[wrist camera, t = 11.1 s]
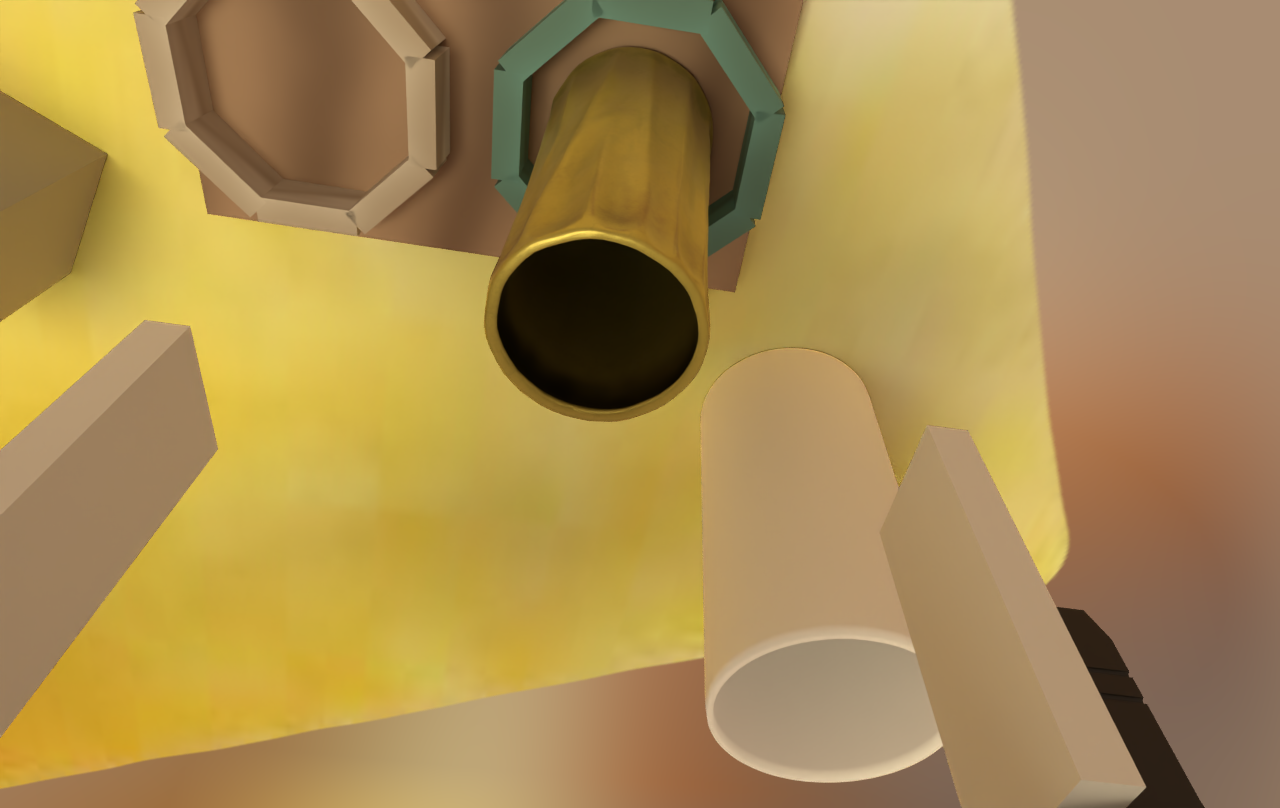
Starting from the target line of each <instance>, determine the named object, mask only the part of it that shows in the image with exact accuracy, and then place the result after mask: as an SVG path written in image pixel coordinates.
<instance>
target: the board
mask: <svg viewBox="0 0 1280 808" xmlns="http://www.w3.org/2000/svg"><path fill="white" fill-rule="evenodd" d="M135 4H136V5H137V6H138V7H139V8H140V9H141V10H140V11H137V12H133V14H134V18H135V23H136V27H137V32H138V36H139V41H140V45H141V50H142V54H143V59H144V63H145V68H146V72H147V77H148V82H149V86H150V91H151V95H152V100H153V104H154V109H155V113H156V118H157V122H158V127H159V128H163V129H169V130H170V131H169V132H168V133H167V134H166V135H165V136H164V137H165V138H166V139H167V140H168V141H169V142H170V143H171V144H172V145H173V146H175V147H176V148H177V149H178V150H179V151H180V152H181V153H182V154H183V155H184V156H185V157H186V158H187V159H188V160H189V161H191V162H192V163H193V164H194V165H195V166H196V167H197V168H198V169H199V172H200V177H201V183H202V188H203V193H204V198H205V203H206V208H207V213H208V214H213V215H219V216H226V217H233V218H240V219H246V220H253V221H258V222H265V223H272V224H279V225H285V226H292V227H299V228H306V229H312V230H319V231H326V232H332V233H339V234H346V235H353V236H360V237H367V238H374V239H381V240H387V241H394V242H401V243H408V244H414V245H421V246H428V247H434V248H441V249H448V250H455V251H461V252H468V253H475V254H481V255H488V256H495V257H500V255H501V252H502V250H503V247H504V245H505V242H506V240H507V237H508V235H509V233H510V230H511V228H512V225H513V222H514V220H515V217H516V215H517V213H518V210H519V208H520V205H521V203H522V200H523V197H524V194H525V192H526V189H527V186H528V183H529V180H530V177H531V174H532V171H533V168H534V165H535V161H536V158H537V155H538V152H539V149H540V146H541V142H542V139H543V136H544V133H545V130H546V127H547V124H548V120H549V118H550V112H551V107H552V102H553V98H554V97H555V95H556V94H557V92H558V90H559V89H560V87H561V86H562V84H563V83H564V82H565V80H566V79H567V77H568V76H569V74H570V73H571V72H572V71H573V70H574V69H575V68H576V67H577V66H578V65H579V64H580V63H582V62H583V61H584V60H586V59H588V58H590V57H592V56H594V55H596V54H598V53H601V52H603V51H606V50H609V49H613V48H618V47H638V48H644V49H649V50H653V51H656V52H659V53H661V54H663V55H665V56H667V57H668V58H670V59H672V60H673V61H675V62H676V63H678V64H679V65H681V66H682V67H683V68H685V69H686V70H687V71H688V72H689V73H690V74H691V75H692V76H693V77H694V78H695V80H696V81H697V83H698V84H699V86H700V88H701V89H702V91H703V93H704V95H705V97H706V99H707V101H708V104H709V107H710V111H711V115H712V121H713V143H712V149H711V154H710V183H709V205H708V288H710V289H717V290H723V291H730V292H735V290H736V286H737V281H738V277H739V273H740V269H741V264H742V260H743V256H744V251H745V247H746V243H747V239H748V234H749V230H751V229H752V228H754V227H755V221H754V219H761V215H762V211H763V206H764V202H765V198H766V194H767V190H768V186H769V182H770V177H771V173H772V169H773V165H774V161H775V157H776V152H777V148H778V144H779V140H780V136H781V132H782V128H783V123H784V119H785V113H784V110H783V107H784V105H783V102H782V99H781V93H782V89H783V85H784V81H785V76H786V72H787V68H788V64H789V59H790V55H791V51H792V46H793V42H794V38H795V34H796V29H797V25H798V21H799V17H800V12H801V8H802V4H803V0H137V1H136V3H135Z"/></svg>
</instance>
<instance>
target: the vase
mask: <svg viewBox="0 0 1280 808" xmlns="http://www.w3.org/2000/svg"><path fill="white" fill-rule="evenodd" d="M712 143H713V121H712V115H711V111H710V107H709V104H708V101H707V99H706V97H705V95H704V93H703V91H702V89H701V88H700V86H699V84H698V83H697V81H696V80H695V78H694V77H693V76H692V75H691V74H690V73H689V72H688V71H687V70H686V69H685V68H683V67H682V66H681V65H679V64H678V63H676V62H675V61H673V60H672V59H670V58H668V57H667V56H665V55H663V54H661V53H659V52H656V51H653V50H649V49H644V48H638V47H618V48H613V49H609V50H606V51H603V52H601V53H598V54H596V55H594V56H592V57H590V58H588V59H586V60H584V61H583V62H582V63H580V64H579V65H578V66H577V67H576V68H575V69H574V70H573V71H572V72H571V73H570V74H569V76H568V77H567V79H566V80H565V82H564V83H563V84H562V86H561V87H560V89H559V90H558V92H557V94H556V95H555V97H554V98H553V102H552V107H551V112H550V118H549V120H548V124H547V127H546V130H545V133H544V136H543V139H542V142H541V146H540V149H539V152H538V155H537V158H536V161H535V165H534V168H533V171H532V174H531V177H530V180H529V183H528V186H527V189H526V192H525V194H524V197H523V200H522V203H521V205H520V208H519V210H518V213H517V215H516V217H515V220H514V222H513V225H512V228H511V230H510V233H509V235H508V237H507V240H506V242H505V245H504V247H503V250H502V252H501V255H500V257H499V260H498V262H497V264H496V266H495V268H494V271H493V273H492V275H491V278H490V282H489V286H488V293H487V300H486V307H485V317H484V328H485V334H486V339H487V341H488V344H489V346H490V349H491V351H492V353H493V355H494V357H495V359H496V361H497V363H498V365H499V366H500V368H501V369H502V371H503V373H504V374H505V375H506V376H507V377H508V379H509V380H510V381H511V382H512V383H513V384H514V385H515V386H516V387H517V388H518V389H519V390H520V391H521V392H522V393H524V394H525V395H527V396H528V397H530V398H531V399H532V400H534V401H535V402H537V403H538V404H540V405H542V406H544V407H546V408H548V409H550V410H552V411H554V412H557V413H560V414H562V415H565V416H569V417H573V418H577V419H582V420H587V421H604V422H613V421H622V420H627V419H631V418H634V417H638V416H640V415H643V414H646V413H649V412H651V411H653V410H656V409H658V408H659V407H661V406H663V405H665V404H666V403H668V402H669V401H671V400H672V399H674V398H675V397H676V396H677V395H678V394H679V393H680V392H682V391H683V390H684V389H685V388H686V387H687V386H688V385H689V384H690V382H691V381H692V380H693V379H694V378H695V376H696V375H697V373H698V372H699V370H700V368H701V365H702V363H703V361H704V358H705V355H706V352H707V348H708V344H709V339H710V316H709V299H708V205H709V183H710V154H711V149H712Z"/></svg>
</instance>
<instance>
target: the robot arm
mask: <svg viewBox="0 0 1280 808" xmlns="http://www.w3.org/2000/svg"><path fill="white" fill-rule="evenodd" d="M217 450H218V447H217V442H216V438H215V433H214V429H213V425H212V420H211V416H210V412H209V407H208V403H207V398H206V394H205V390H204V385H203V381H202V376H201V372H200V368H199V363H198V359H197V354H196V350H195V346H194V341H193V337H192V332H191V328H190V326H185V325H177V324H170V323H162V322H155V321H147V320H144V321H143V322H142V323H141V324H140V325H139V326H138V327H137V328H136V329H134V330H133V331H132V332H131V333H130V334H129V335H128V336H127V337H126V338H124V339H123V340H122V341H121V342H120V343H119V344H118V345H117V346H116V347H114V348H113V349H112V350H111V351H110V352H109V353H108V354H107V355H106V356H104V357H103V358H102V359H101V360H100V361H99V362H98V363H97V364H96V365H94V366H93V367H92V368H91V369H90V370H89V371H88V372H87V373H86V374H84V375H83V376H82V377H81V378H80V379H79V380H78V381H77V382H76V383H74V384H73V385H72V386H71V387H70V388H69V389H68V390H67V391H66V392H64V393H63V394H62V395H61V396H60V397H59V398H58V399H57V400H56V401H54V402H53V403H52V404H51V405H50V406H49V407H48V408H47V409H46V410H44V411H43V412H42V413H41V414H40V415H39V416H38V417H37V418H36V419H35V420H33V421H32V422H31V423H30V424H29V425H28V426H27V427H26V428H25V429H23V430H22V431H21V432H20V433H19V434H18V435H17V436H16V437H15V438H13V439H12V440H11V441H10V442H9V443H8V444H7V445H6V446H5V447H3V448H2V449H1V450H0V738H1V736H2V735H3V734H4V732H5V731H6V730H7V728H8V727H9V726H10V724H11V723H12V722H13V720H14V719H15V718H16V716H17V715H18V714H19V712H20V711H21V710H22V708H23V707H24V706H25V704H26V703H27V702H28V700H29V699H30V698H31V696H32V695H33V694H34V692H35V691H36V690H37V688H38V687H39V686H40V684H41V683H42V682H43V681H44V679H45V678H46V677H47V675H48V674H49V673H50V671H51V670H52V669H53V667H54V666H55V665H56V663H57V662H58V661H59V659H60V658H61V657H62V655H63V654H64V653H65V651H66V650H67V649H68V647H69V646H70V645H71V643H72V642H73V641H74V639H75V638H76V637H77V635H78V634H79V633H80V631H81V630H82V629H83V627H84V626H85V625H86V623H87V622H88V621H89V619H90V618H91V617H92V615H93V614H94V613H95V612H96V610H97V609H98V608H99V606H100V605H101V604H102V602H103V601H104V600H105V598H106V597H107V596H108V594H109V593H110V592H111V590H112V589H113V588H114V586H115V585H116V584H117V582H118V581H119V580H120V578H121V577H122V576H123V574H124V573H125V572H126V570H127V569H128V568H129V566H130V565H131V564H132V562H133V561H134V560H135V558H136V557H137V556H138V554H139V553H140V552H141V550H142V549H143V548H144V546H145V545H146V544H147V543H148V541H149V540H150V539H151V537H152V536H153V535H154V533H155V532H156V531H157V529H158V528H159V527H160V525H161V524H162V523H163V521H164V520H165V519H166V517H167V516H168V515H169V513H170V512H171V511H172V509H173V508H174V507H175V505H176V504H177V503H178V501H179V500H180V499H181V497H182V496H183V495H184V493H185V492H186V491H187V489H188V488H189V487H190V485H191V484H192V483H193V481H194V480H195V479H196V477H197V476H198V475H199V474H200V472H201V471H202V470H203V468H204V467H205V466H206V464H207V463H208V462H209V460H210V459H211V458H212V456H213V455H214V454H215V452H216V451H217ZM880 536H881V539H882V543H883V546H884V550H885V553H886V556H887V560H888V563H889V566H890V570H891V573H892V576H893V580H894V583H895V587H896V590H897V593H898V597H899V600H900V603H901V607H902V610H903V613H904V617H905V620H906V623H907V627H908V630H909V634H910V637H911V640H912V644H913V647H914V650H915V654H916V657H917V660H918V664H919V667H920V671H921V674H922V677H923V681H924V684H925V687H926V691H927V694H928V697H929V701H930V704H931V707H932V711H933V714H934V718H935V721H936V724H937V728H938V731H939V734H940V738H941V741H942V744H943V748H944V751H945V754H946V758H947V761H948V764H949V768H950V771H951V774H952V778H953V781H954V785H955V788H956V791H957V795H958V798H959V801H960V805H961V808H1205V807H1204V806H1203V804H1202V803H1201V801H1200V800H1199V798H1198V796H1197V794H1196V793H1195V791H1194V789H1193V787H1192V785H1191V783H1190V782H1189V780H1188V778H1187V776H1186V774H1185V772H1184V771H1183V769H1182V767H1181V765H1180V763H1179V762H1178V760H1177V758H1176V756H1175V754H1174V753H1173V751H1172V749H1171V747H1170V745H1169V743H1168V741H1167V740H1166V738H1165V736H1164V735H1163V732H1162V731H1161V729H1160V727H1159V725H1158V723H1157V722H1156V720H1155V718H1154V716H1153V714H1152V712H1151V711H1150V709H1149V707H1148V706H1147V704H1144V703H1143V696H1142V694H1141V692H1140V690H1139V689H1138V687H1137V685H1136V683H1135V681H1134V680H1133V678H1130V677H1129V675H1128V673H1129V670H1128V669H1127V667H1126V665H1125V663H1124V662H1123V660H1122V658H1121V656H1120V654H1119V652H1118V650H1117V649H1116V647H1115V645H1114V643H1113V641H1112V640H1111V639H1110V637H1109V636H1107V634H1106V633H1105V632H1104V631H1103V630H1102V629H1101V628H1100V627H1099V626H1098V625H1097V624H1096V623H1095V622H1094V621H1093V620H1092V619H1091V618H1090V617H1089V616H1088V615H1087V614H1086V613H1085V611H1084V610H1076V609H1069V608H1060V607H1056V606H1055V604H1054V602H1053V600H1052V598H1051V596H1050V594H1049V592H1048V590H1047V588H1046V586H1045V584H1044V582H1043V580H1042V578H1041V576H1040V574H1039V572H1038V570H1037V568H1036V566H1035V564H1034V562H1033V560H1032V558H1031V556H1030V554H1029V552H1028V550H1027V548H1026V546H1025V544H1024V542H1023V540H1022V538H1021V536H1020V534H1019V532H1018V530H1017V528H1016V526H1015V524H1014V522H1013V520H1012V518H1011V516H1010V514H1009V512H1008V510H1007V508H1006V506H1005V504H1004V502H1003V500H1002V498H1001V496H1000V494H999V492H998V490H997V488H996V486H995V484H994V482H993V480H992V478H991V476H990V474H989V472H988V470H987V468H986V466H985V464H984V462H983V460H982V458H981V456H980V454H979V452H978V450H977V448H976V446H975V444H974V442H973V440H972V438H971V436H970V434H969V432H968V430H960V429H953V428H946V427H938V426H931V425H927V426H926V429H925V431H924V433H923V435H922V438H921V440H920V442H919V444H918V447H917V449H916V451H915V453H914V456H913V458H912V460H911V462H910V465H909V467H908V469H907V471H906V474H905V476H904V478H903V481H902V483H901V485H900V487H899V490H898V492H897V494H896V496H895V499H894V501H893V503H892V505H891V508H890V510H889V512H888V514H887V517H886V519H885V521H884V523H883V526H882V528H881V530H880Z"/></svg>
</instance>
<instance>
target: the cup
mask: <svg viewBox="0 0 1280 808" xmlns="http://www.w3.org/2000/svg"><path fill="white" fill-rule="evenodd" d="M701 484H702V545H703V606H704V661H705V662H704V663H705V707H706V714H707V721H708V725H709V728H710V731H711V733H712V735H713V737H714V738H715V739H716V741H717V742H718V743H719V745H720V746H721V747H722V748H723V749H724V750H725V751H726V752H727V753H729V754H730V755H731V756H733V757H734V758H736V759H737V760H739V761H740V762H742V763H744V764H746V765H748V766H750V767H752V768H754V769H757V770H759V771H762V772H764V773H767V774H770V775H774V776H778V777H782V778H787V779H792V780H798V781H807V782H825V783H828V782H849V781H857V780H864V779H870V778H874V777H878V776H883V775H886V774H890V773H893V772H896V771H899V770H902V769H904V768H907V767H909V766H911V765H914V764H916V763H918V762H919V761H921V760H923V759H925V758H927V757H928V756H930V755H931V754H933V753H934V752H935V751H937V750H938V749H939V748H941V747H942V746H943V744H942V741H941V738H940V734H939V731H938V728H937V724H936V721H935V718H934V714H933V711H932V707H931V704H930V701H929V697H928V694H927V691H926V687H925V684H924V681H923V677H922V674H921V671H920V667H919V664H918V660H917V657H916V654H915V650H914V647H913V644H912V640H911V637H910V634H909V630H908V627H907V623H906V620H905V617H904V613H903V610H902V607H901V603H900V600H899V597H898V593H897V590H896V587H895V583H894V580H893V576H892V573H891V570H890V566H889V563H888V560H887V556H886V553H885V550H884V546H883V543H882V539H881V536H880V530H881V528H882V526H883V523H884V521H885V519H886V517H887V514H888V512H889V510H890V508H891V505H892V503H893V501H894V499H895V496H896V494H897V492H898V490H899V487H898V484H897V481H896V478H895V475H894V472H893V469H892V466H891V462H890V459H889V456H888V453H887V450H886V447H885V444H884V441H883V437H882V434H881V431H880V428H879V425H878V422H877V419H876V416H875V413H874V409H873V406H872V403H871V400H870V397H869V394H868V391H867V389H866V387H865V385H864V383H863V382H862V380H861V379H860V377H859V376H858V375H857V374H856V373H855V372H854V371H853V370H852V369H851V368H850V367H849V366H847V365H846V364H845V363H843V362H842V361H840V360H838V359H837V358H835V357H832V356H830V355H828V354H825V353H822V352H819V351H815V350H810V349H803V348H780V349H773V350H768V351H764V352H760V353H757V354H754V355H752V356H749V357H747V358H745V359H743V360H741V361H739V362H738V363H736V364H734V365H733V366H731V367H730V368H729V369H728V370H726V371H725V372H724V373H723V374H722V375H721V376H720V377H719V378H718V379H717V380H716V381H715V382H714V384H713V385H712V387H711V388H710V390H709V391H708V393H707V395H706V397H705V400H704V402H703V406H702V410H701Z"/></svg>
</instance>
